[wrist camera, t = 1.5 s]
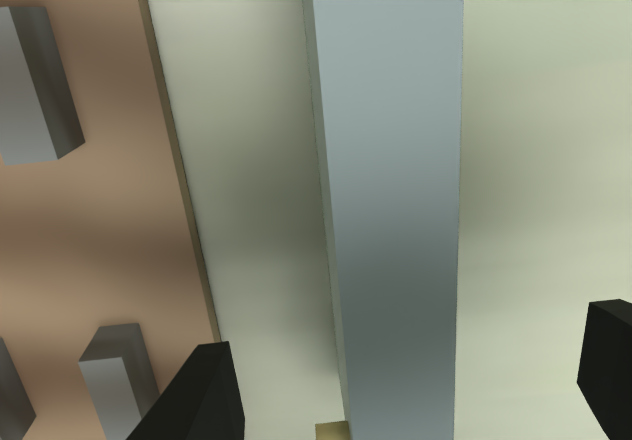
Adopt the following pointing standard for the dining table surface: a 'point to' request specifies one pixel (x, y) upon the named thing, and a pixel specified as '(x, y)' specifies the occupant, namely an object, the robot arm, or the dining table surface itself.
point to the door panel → (390, 207)
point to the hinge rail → (91, 223)
